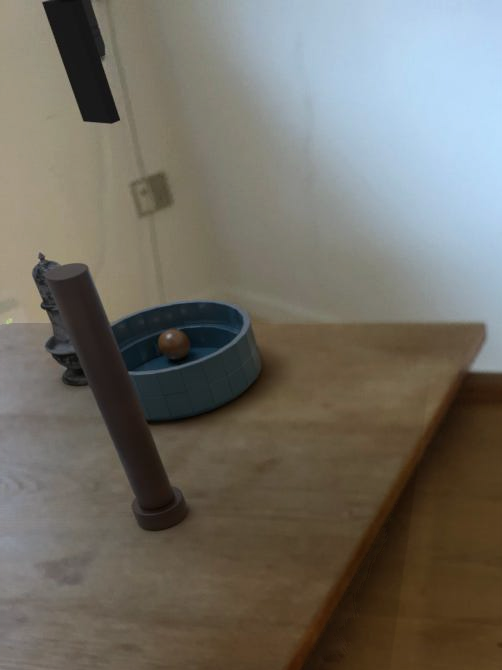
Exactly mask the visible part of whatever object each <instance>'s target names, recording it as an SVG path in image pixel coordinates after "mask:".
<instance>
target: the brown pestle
mask: <svg viewBox="0 0 502 670" xmlns="http://www.w3.org/2000/svg"><path fill="white" fill-rule="evenodd" d="M45 279H46V281H47V284H48V286H49V289H50V291H51V294H52V296H53V298H54V301H55V303H56V306H57V308H58V311H59V313H60V315H61V318H62V320H63V323H64V325H65V328H66V330H67V332H68V335H69V337H70V340H71V342H72V344H73V347H74V349H75V352H76V354H77V357H78V359H79V361H80V364H81V366H82V369H83V371H84V374H85V376H86V378H87V381H88V383H89V384H88V385H89V389H90V390H91V393H92V396H93V398H94V400H95V402H96V405H97V407H98V409H99V412H100V415H101V417H102V420H103V422H104V424H105V427H106V429H107V431H108V434H109V437H110V439H111V441H112V444H113V447H114V448H115V452H116V453H117V457H118V458H119V461H120V463H121V465H122V468H123V470H124V473H125V475H126V478H127V480H128V482H129V485H130V487H131V490H132V492H133V495H134V498H133V500H132V502H131V507H130V508H131V512H132V514H133V515H134V518H135V520H136V523H137V524H138V526H139V527H140V528H142V529H144V530H147V531H161V530H165V529H168V528H171V527H174V526H175V525H177V524H178V523H180V522H182V521H183V520H184V519H185V518H186V517H187V514H188V512H189V508H188V507H189V506H188V504H187V502H186V499H185V496H184V494H183V492H182V490H181V489H180V488H178V487H176V486H173V485H172V484H171V481H170V478H169V476H168V473H167V470H166V469H165V465H164V463H163V460H162V458H161V456H160V453H159V449H158V447H157V445H156V442H155V439H154V437H153V434H152V432H151V429H150V426H149V423H148V421H147V420H146V418H145V415H144V413H143V410H142V407H141V405H140V402H139V399H138V397H137V394H136V392H135V389H134V386H133V384H132V381H131V378H130V376H129V373H128V370H127V368H126V365H125V362H124V360H123V357H122V355H121V352H120V349H119V347H118V344H117V341H116V339H115V336H114V333H113V331H112V328H111V326H110V324H111V323H110V320H109V318H108V315H107V313H106V310H105V307H104V304H103V302H102V300H101V297H100V293H99V292H98V289H97V286H96V284H95V281H94V278H93V276H92V273H91V270H90V267H89V266H88V265H87V264H85V263H82V262H72V263H65V264H62V265H61V266H59V267H56V268H54V269H52V270H50V271H49V272H47V273H46V275H45Z"/></svg>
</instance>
